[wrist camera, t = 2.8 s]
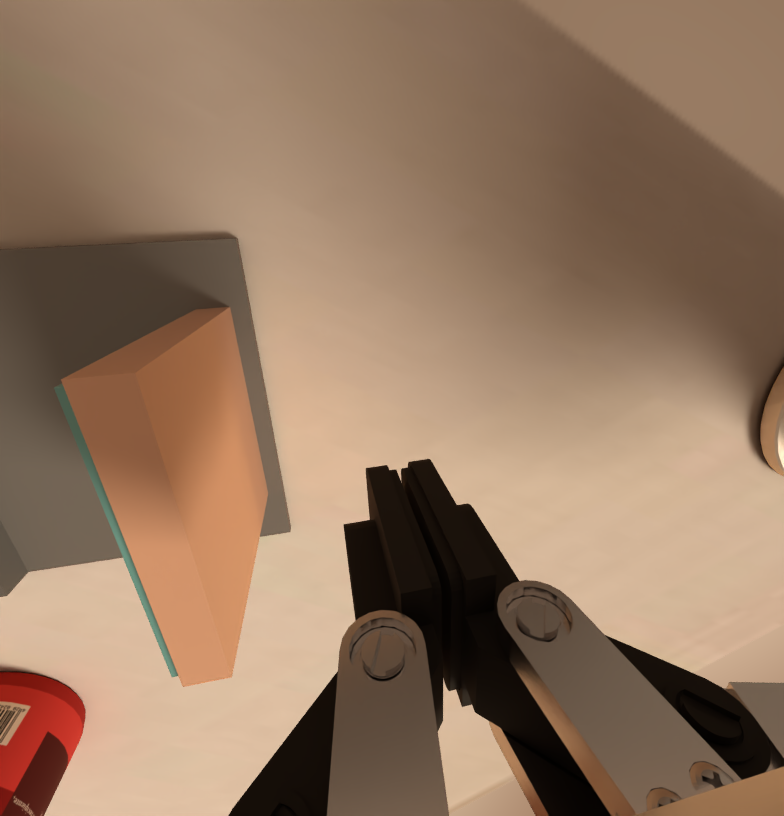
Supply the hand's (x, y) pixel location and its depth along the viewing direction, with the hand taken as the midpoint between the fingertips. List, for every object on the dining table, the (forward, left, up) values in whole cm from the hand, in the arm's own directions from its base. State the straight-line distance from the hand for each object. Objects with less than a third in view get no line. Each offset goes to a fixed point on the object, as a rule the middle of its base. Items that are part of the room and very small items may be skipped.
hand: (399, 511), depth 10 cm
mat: (+11, 0, -9) cm, 14 cm away
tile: (+6, 0, -9) cm, 10 cm away
